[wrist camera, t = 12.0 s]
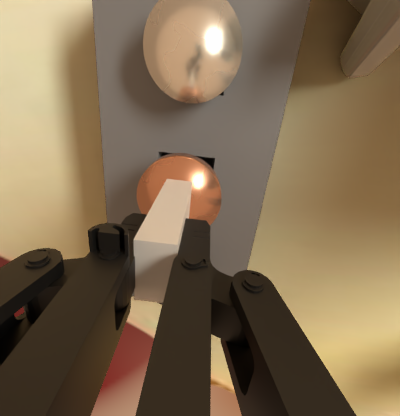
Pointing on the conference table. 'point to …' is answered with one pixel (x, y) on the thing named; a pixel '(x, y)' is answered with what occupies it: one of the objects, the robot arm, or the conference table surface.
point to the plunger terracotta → (187, 171)
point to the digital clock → (371, 36)
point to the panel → (197, 115)
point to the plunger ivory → (192, 48)
